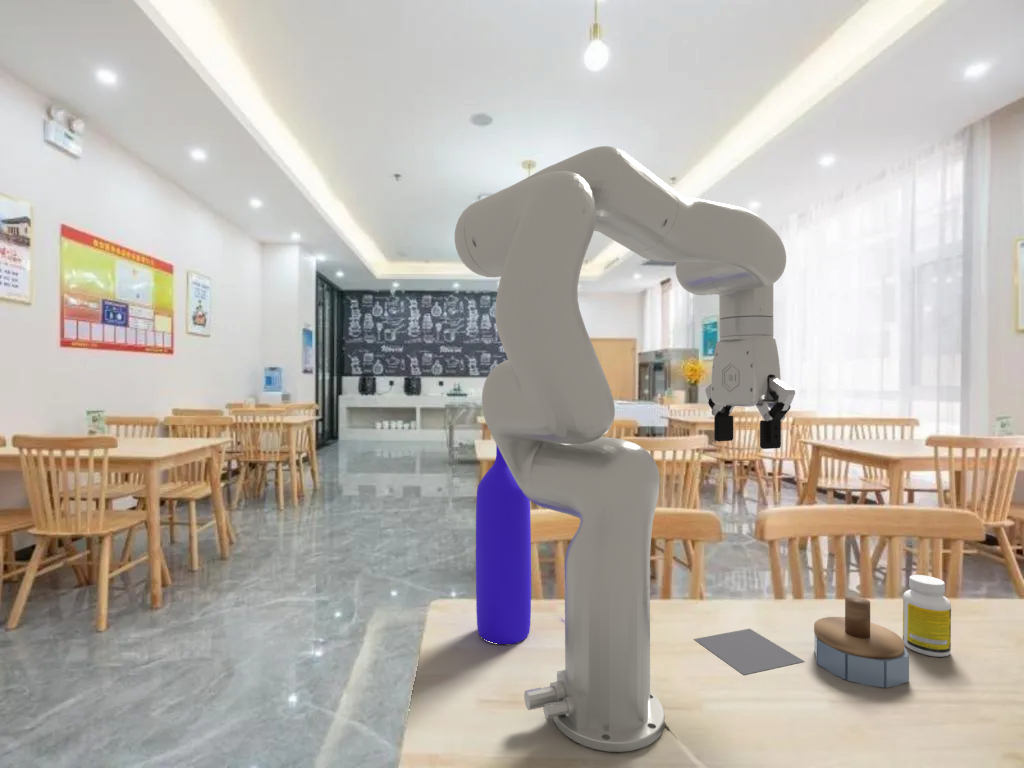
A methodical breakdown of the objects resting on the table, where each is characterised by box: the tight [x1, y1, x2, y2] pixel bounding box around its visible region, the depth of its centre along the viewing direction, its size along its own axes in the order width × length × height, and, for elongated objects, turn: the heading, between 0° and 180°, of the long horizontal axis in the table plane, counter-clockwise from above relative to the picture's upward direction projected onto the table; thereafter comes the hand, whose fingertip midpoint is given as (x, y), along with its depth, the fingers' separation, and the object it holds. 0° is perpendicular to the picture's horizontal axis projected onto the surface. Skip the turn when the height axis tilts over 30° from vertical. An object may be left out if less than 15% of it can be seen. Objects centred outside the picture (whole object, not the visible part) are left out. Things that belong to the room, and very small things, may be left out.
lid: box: [813, 595, 905, 659], centre depth 72 cm, size 10×10×5 cm
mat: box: [693, 628, 805, 676], centre depth 75 cm, size 10×10×1 cm
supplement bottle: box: [902, 574, 952, 658], centre depth 77 cm, size 5×5×10 cm
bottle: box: [475, 443, 532, 645], centre depth 82 cm, size 8×8×30 cm
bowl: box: [814, 634, 910, 689], centre depth 71 cm, size 10×10×4 cm
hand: (745, 444), depth 82 cm, fingers open, 9 cm apart
